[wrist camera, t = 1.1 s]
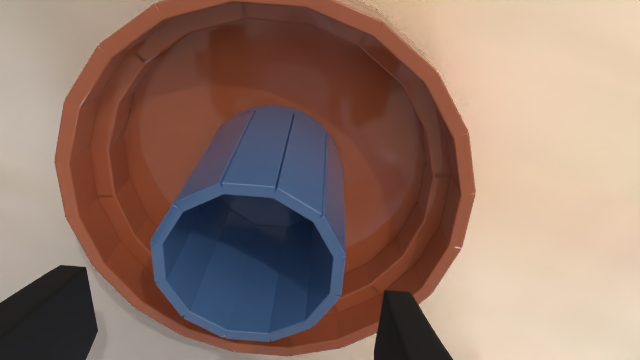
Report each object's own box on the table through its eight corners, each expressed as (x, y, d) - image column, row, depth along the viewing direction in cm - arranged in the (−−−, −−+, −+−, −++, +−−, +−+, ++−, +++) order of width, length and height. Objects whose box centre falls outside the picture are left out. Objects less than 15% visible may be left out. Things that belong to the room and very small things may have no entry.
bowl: (419, 308, 22) (432, 368, 19) (124, 285, 22) (89, 341, 19) (487, -7, 16) (523, 6, 13) (77, -40, 16) (14, -35, 13)
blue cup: (335, 229, 20) (335, 347, 14) (210, 220, 20) (159, 334, 14) (347, 110, 18) (353, 192, 12) (206, 98, 18) (142, 176, 12)
